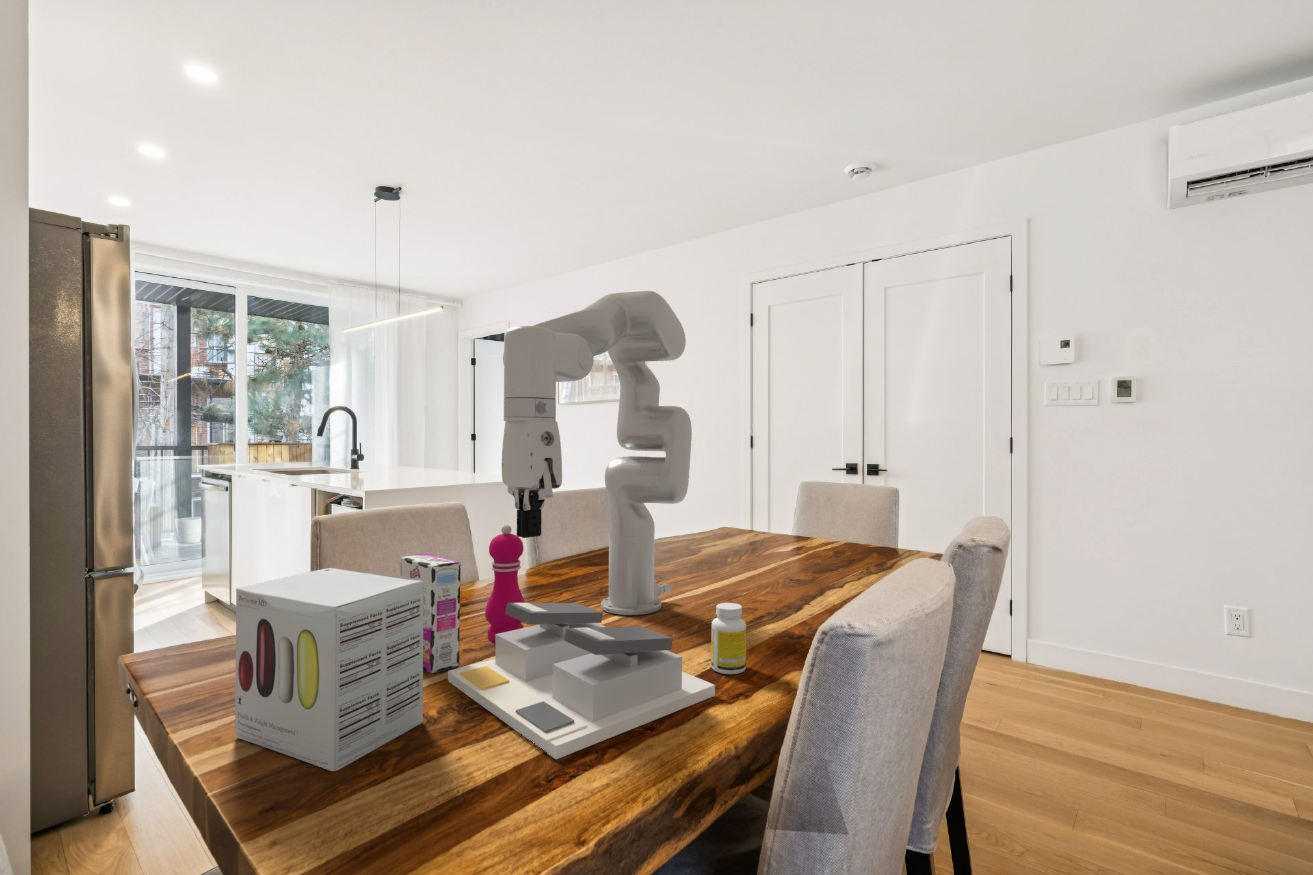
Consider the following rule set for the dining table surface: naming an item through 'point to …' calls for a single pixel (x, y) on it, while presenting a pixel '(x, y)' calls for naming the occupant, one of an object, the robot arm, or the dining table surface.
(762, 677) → the dining table surface
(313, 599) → the supplement box
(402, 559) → the candy bar box
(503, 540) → the pepper mill
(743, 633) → the supplement bottle
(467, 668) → the switch unit
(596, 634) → the plain switch
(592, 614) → the marked switch
